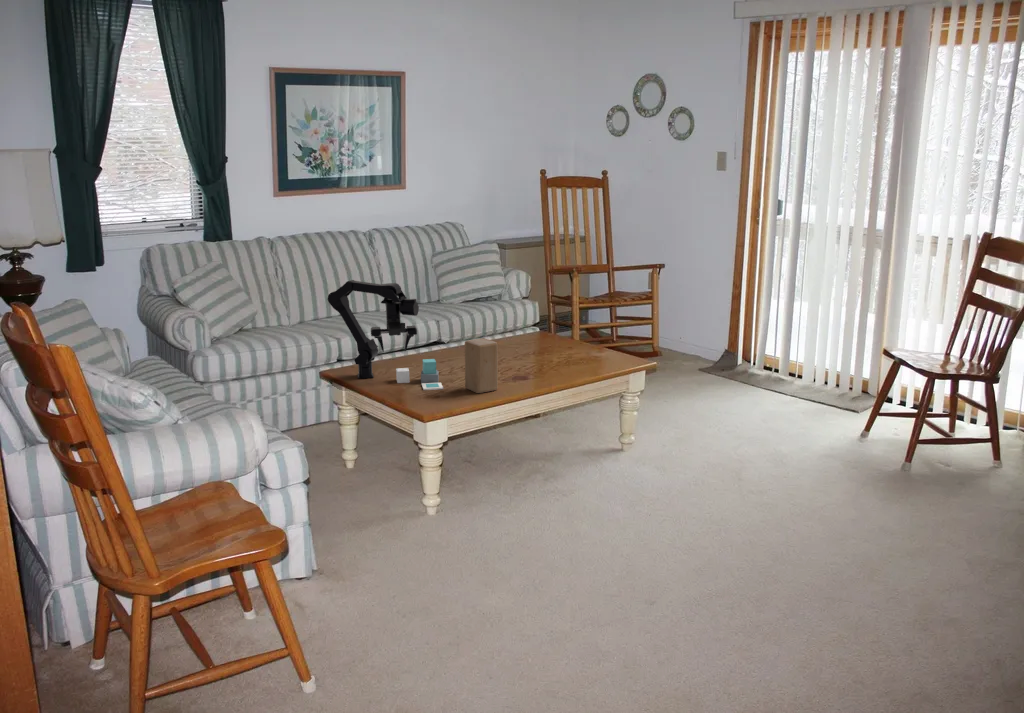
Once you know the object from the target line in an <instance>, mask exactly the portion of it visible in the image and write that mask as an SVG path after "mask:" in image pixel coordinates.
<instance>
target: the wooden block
mask: <svg viewBox="0 0 1024 713" xmlns="http://www.w3.org/2000/svg"><path fill="white" fill-rule="evenodd" d="M498 347H499V345H498V342H497V341H494V340H491V339H488V338H486V337H482V338H476V339H470V340H469V339H467V340H465V342H464V382H465V383H464V387H465V389H467V390H469V391H472V392H474V393H477V394H483V393H486V392H493V391H497V390H498V387H499V386H498V385H499V384H498V383H499V382H498V380H499V379H498V378H499V377H498V376H499V375H498V374H499V372H498V370H499V368H498V367H499V366H498V364H499V363H498V362H499V361H498V360H499V357H498V356H499V354H498V353H499V352H498V351H499V350H498V349H499V348H498Z"/></svg>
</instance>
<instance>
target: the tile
mask: <svg viewBox="0 0 1024 713" xmlns="http://www.w3.org/2000/svg"><path fill="white" fill-rule="evenodd" d="M442 384H443V383H442V382H438V383H422V384H421V387H422V389H423V391H434V390H435V391H437V390H438V391H439V390H444V386H443V385H442Z"/></svg>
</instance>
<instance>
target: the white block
mask: <svg viewBox="0 0 1024 713" xmlns="http://www.w3.org/2000/svg"><path fill="white" fill-rule="evenodd" d="M395 375H396V376H395V377H396V383H397V384H408V383H410V382H411V381H410V379H411V378H410V370H409V367H403V368H399V367H398V368H395Z"/></svg>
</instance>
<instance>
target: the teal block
mask: <svg viewBox="0 0 1024 713" xmlns="http://www.w3.org/2000/svg"><path fill="white" fill-rule="evenodd" d="M422 370H423V373H424V374H436V370H437V361H436V359H435V358H427V359H424V358H423V359H422Z"/></svg>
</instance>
